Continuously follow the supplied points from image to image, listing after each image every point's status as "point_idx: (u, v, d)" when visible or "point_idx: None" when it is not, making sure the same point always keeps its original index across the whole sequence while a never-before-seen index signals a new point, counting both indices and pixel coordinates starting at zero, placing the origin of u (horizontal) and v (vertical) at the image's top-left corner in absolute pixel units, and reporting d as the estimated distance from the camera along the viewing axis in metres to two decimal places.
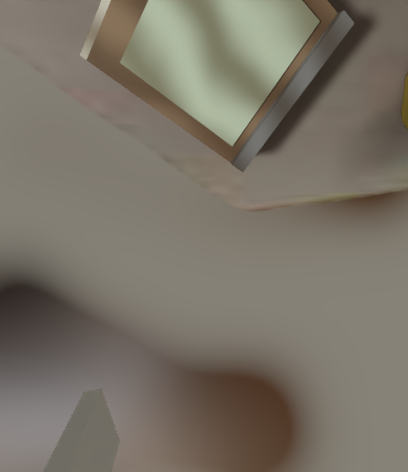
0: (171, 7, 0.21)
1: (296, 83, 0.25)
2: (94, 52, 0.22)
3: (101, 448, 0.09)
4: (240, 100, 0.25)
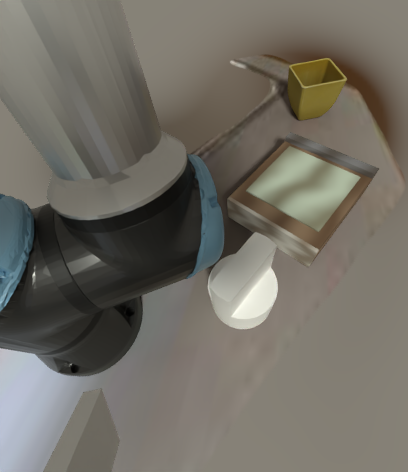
0: (289, 203, 0.40)
1: (319, 148, 0.44)
2: (314, 244, 0.36)
3: (101, 448, 0.09)
4: (331, 174, 0.42)
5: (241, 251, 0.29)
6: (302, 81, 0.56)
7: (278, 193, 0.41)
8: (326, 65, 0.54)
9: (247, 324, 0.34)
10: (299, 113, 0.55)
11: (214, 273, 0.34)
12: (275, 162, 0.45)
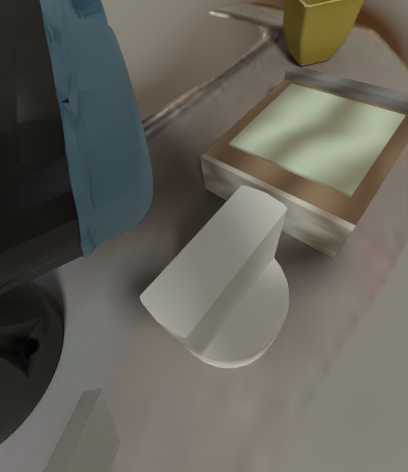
0: (298, 157, 0.25)
1: (337, 81, 0.30)
2: (346, 217, 0.21)
3: (101, 448, 0.09)
4: (358, 114, 0.27)
5: (214, 223, 0.14)
6: None
7: (279, 144, 0.26)
8: None
9: (236, 364, 0.18)
10: (301, 52, 0.40)
11: None
12: (272, 104, 0.30)
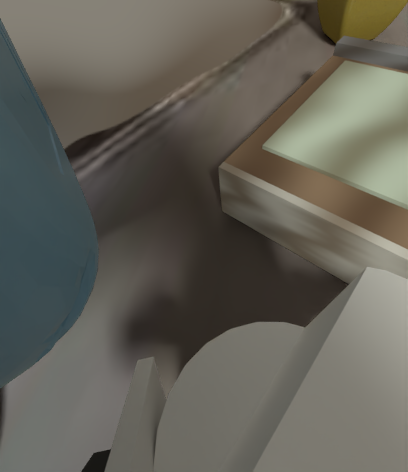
0: (378, 169, 0.15)
1: None
2: None
3: (158, 406, 0.11)
4: None
5: (316, 410, 0.04)
6: None
7: (343, 148, 0.17)
8: None
9: None
10: (343, 27, 0.31)
11: (178, 405, 0.10)
12: (321, 89, 0.20)
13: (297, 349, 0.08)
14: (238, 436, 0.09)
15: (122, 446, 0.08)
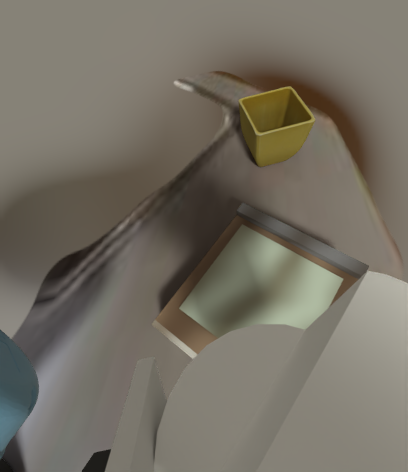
0: None
1: (283, 231, 0.31)
2: None
3: (158, 406, 0.11)
4: (301, 274, 0.29)
5: (316, 415, 0.04)
6: (259, 116, 0.42)
7: (225, 313, 0.27)
8: (288, 95, 0.40)
9: None
10: (257, 161, 0.41)
11: (178, 407, 0.10)
12: (222, 254, 0.31)
13: (297, 352, 0.08)
14: (238, 439, 0.09)
15: (122, 446, 0.08)
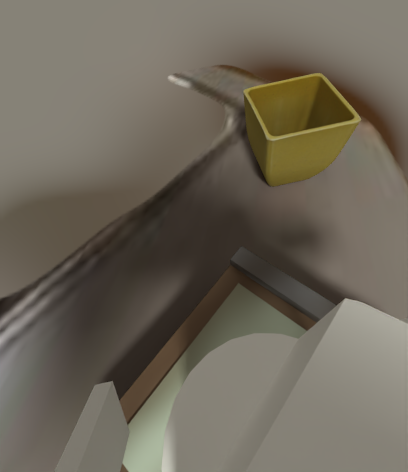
0: None
1: (308, 304, 0.18)
2: None
3: (113, 438, 0.10)
4: None
5: (298, 420, 0.05)
6: (273, 116, 0.30)
7: None
8: (316, 87, 0.28)
9: None
10: (268, 179, 0.28)
11: (183, 409, 0.11)
12: (200, 338, 0.18)
13: (289, 361, 0.09)
14: (237, 437, 0.10)
15: None
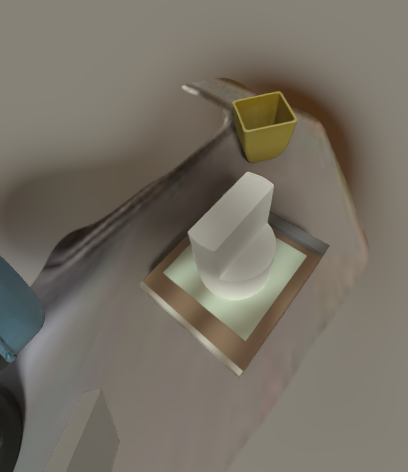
0: (213, 295, 0.31)
1: None
2: (237, 362, 0.27)
3: (101, 448, 0.09)
4: None
5: (230, 193, 0.23)
6: (251, 117, 0.47)
7: None
8: (277, 99, 0.45)
9: (240, 291, 0.28)
10: (247, 157, 0.46)
11: None
12: None
13: None
14: None
15: None
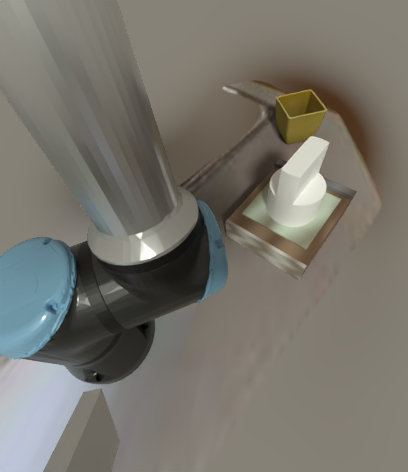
0: (280, 224, 0.45)
1: None
2: (302, 261, 0.42)
3: (101, 448, 0.09)
4: None
5: (302, 148, 0.38)
6: (288, 109, 0.63)
7: None
8: (309, 95, 0.60)
9: (302, 216, 0.42)
10: (287, 138, 0.61)
11: (273, 179, 0.43)
12: (266, 186, 0.50)
13: None
14: None
15: None
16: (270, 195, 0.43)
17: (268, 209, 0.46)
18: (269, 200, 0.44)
